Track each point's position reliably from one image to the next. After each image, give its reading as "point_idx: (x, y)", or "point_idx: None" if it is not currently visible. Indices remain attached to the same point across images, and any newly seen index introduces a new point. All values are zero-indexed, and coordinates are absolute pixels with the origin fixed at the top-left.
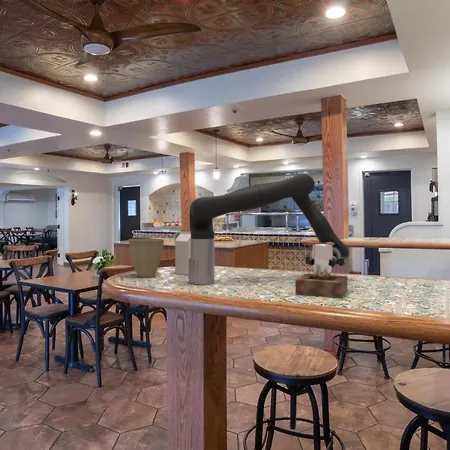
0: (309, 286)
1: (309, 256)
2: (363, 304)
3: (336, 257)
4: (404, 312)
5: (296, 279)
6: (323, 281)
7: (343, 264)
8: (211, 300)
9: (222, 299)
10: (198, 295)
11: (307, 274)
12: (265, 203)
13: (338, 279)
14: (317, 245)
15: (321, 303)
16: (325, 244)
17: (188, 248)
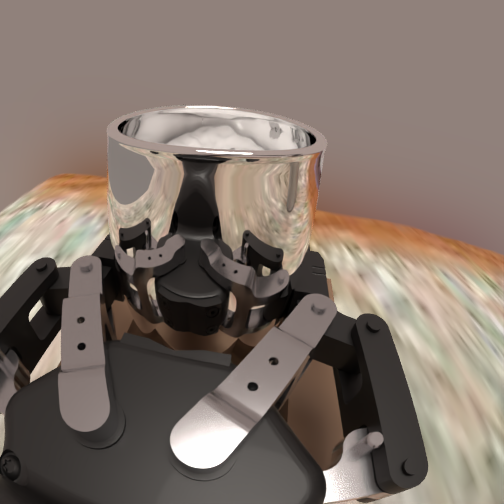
0: None
1: (369, 373)
2: (100, 243)
3: (23, 389)
4: (55, 208)
5: (327, 280)
6: None
7: (33, 322)
8: (433, 236)
9: (427, 243)
10: (476, 262)
11: (323, 462)
12: None
13: (117, 313)
14: (261, 111)
15: None
16: (166, 145)
17: None
